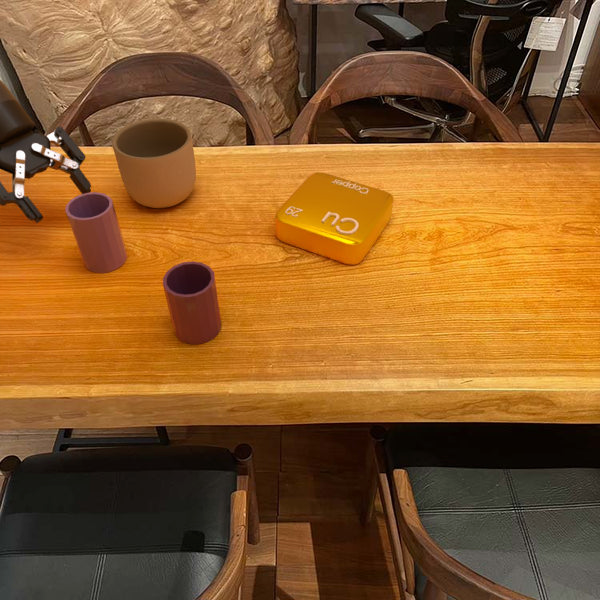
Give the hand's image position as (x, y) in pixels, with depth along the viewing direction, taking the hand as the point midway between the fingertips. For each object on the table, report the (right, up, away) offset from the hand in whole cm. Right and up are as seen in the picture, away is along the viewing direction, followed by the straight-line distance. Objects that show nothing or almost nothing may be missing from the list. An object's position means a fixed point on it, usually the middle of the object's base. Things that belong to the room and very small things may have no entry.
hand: (64, 206), depth 88 cm
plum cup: (+21, -18, -8) cm, 29 cm away
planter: (+12, +4, +13) cm, 18 cm away
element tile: (+41, -2, +7) cm, 42 cm away
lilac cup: (+6, -8, +1) cm, 10 cm away
